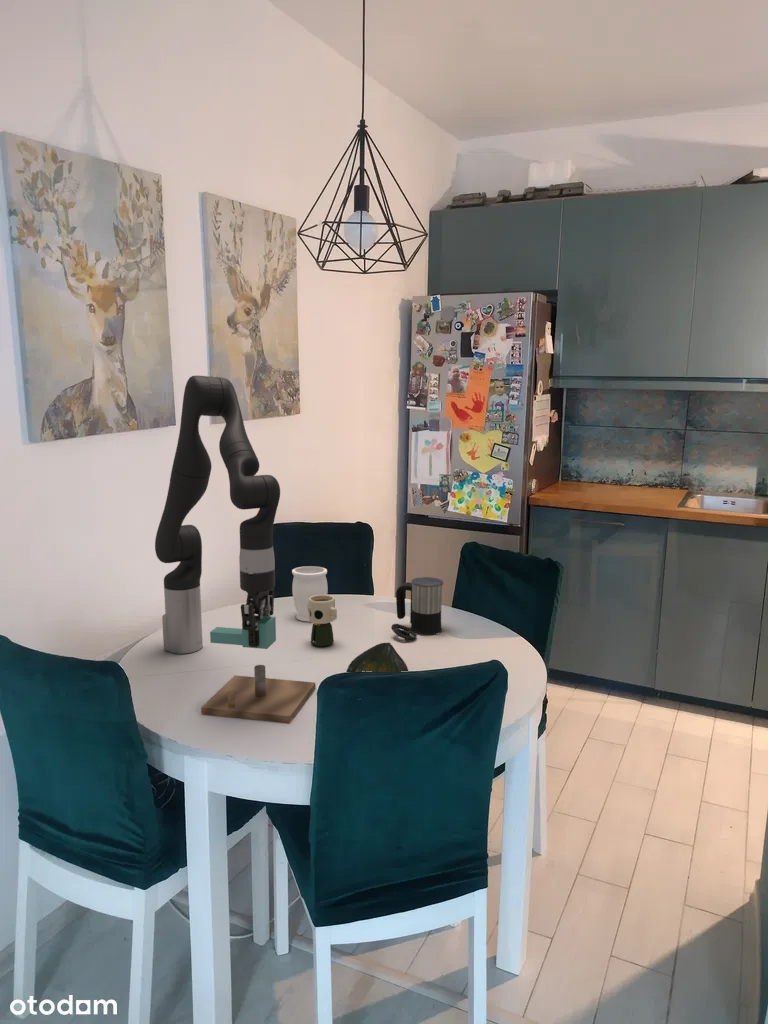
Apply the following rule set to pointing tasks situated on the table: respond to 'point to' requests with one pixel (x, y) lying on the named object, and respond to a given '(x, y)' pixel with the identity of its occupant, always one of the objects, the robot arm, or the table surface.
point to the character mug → (322, 618)
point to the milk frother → (420, 607)
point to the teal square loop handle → (246, 634)
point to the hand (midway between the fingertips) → (259, 641)
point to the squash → (378, 660)
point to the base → (259, 698)
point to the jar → (307, 588)
